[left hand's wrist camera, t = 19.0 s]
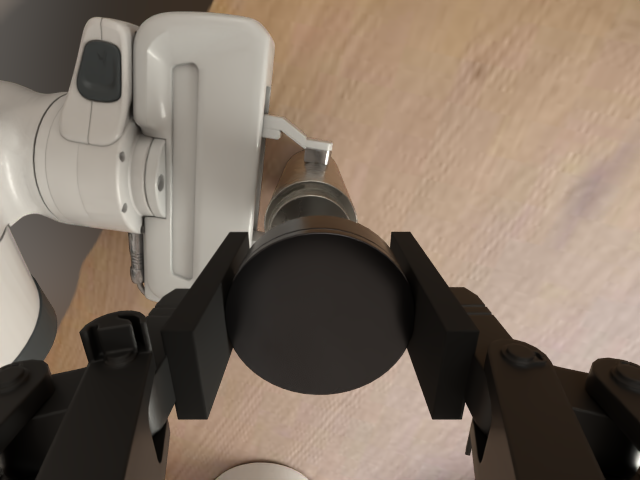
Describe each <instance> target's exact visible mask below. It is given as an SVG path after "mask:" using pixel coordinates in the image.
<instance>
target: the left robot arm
mask: <svg viewBox="0 0 640 480" xmlns="http://www.w3.org/2000/svg"><path fill="white" fill-rule="evenodd" d="M249 249H250V246H249V234H248V232H229V233H228V235H227V236H226V238H225V239H224V241H223V242H222V243H221V245H220V246H219V248H218V249H217V251H216V252H215V253H214V255H213V256H212V258H211V259H210V261H209V262H208V263H207V265H206V266H205V268H204V269H203V271H202V272H201V273H200V275H199V276H198V278H197V279H196V281H195V282H194V283H193V285H192V286H191V288H176V289H174V290H172V291H171V292H169V293H168V294H166V295H165V296H163V297H162V298H161V299H160V301H159V302H158V303H157V304H156V306H155V308H153V309H152V310H151V312H150V313H149V316H147V317H145V316H144V315H143V314H142V313H140V312H136V311H118V312H114V313H110V314H106V315H104V316H101V317H99V318H96V319H95V320H93V321H91V322H90V323H88V324H87V325H85V326H84V328H83V329H82V330H81V331H80V332H79V333H80V336H81V339H82V343H83V346H84V349H85V352H86V356H87V359H88V362H89V363H88V365H87V367H85V368H81V369H77V370H72V371H67V372H62V373H58V374H53V375H51V372H50V369H49V367H48V364H46V363H45V362H44V361H42V360H34V359H31V360H24V361H18V362H14V363H12V364H8V365H5V366H3V367H1V368H0V480H165V474H166V465H167V456H168V447H169V438H170V428H169V423H168V416H169V414H170V412H171V410H172V408H173V406H174V404H175V407H176V412H177V417H178V419H208V417H209V414H210V411H211V408H212V405H213V402H214V400H215V397H216V394H217V391H218V388H219V386H220V383H221V380H222V377H223V374H224V372H225V369H226V366H227V363H228V360H229V357H230V355H231V352H232V349H233V346H232V344H231V342H230V339H229V337H228V333H227V330H226V323H225V302H226V296H227V293H228V290H229V287H230V285H231V283H232V281H233V279H234V277H235V275H236V273H237V271H238V269H239V267H240V265H241V263H242V261H243V259H244V257H245V255H246V253H247V252H248V250H249ZM390 249H391V250H392V251H393V253H394V255H395V257H396V258H397V260H398V262H399V264H400V266H401V268H402V270H403V272H404V274H405V276H406V278H407V280H408V282H409V285H410V287H411V290H412V292H413V297H414V301H415V321H414V329H413V334H412V337H411V339H410V342H409V344H408V346H407V350H408V352H409V355H410V358H411V361H412V364H413V366H414V369H415V372H416V375H417V378H418V381H419V383H420V386H421V389H422V392H423V395H424V397H425V400H426V403H427V406H428V409H429V412H430V414H431V417H432V419H462V416H463V411H464V406H465V402H466V404H467V406H468V409H469V411H470V413H471V415H472V417H473V418H472V423H471V427H470V432H469V437H468V441H467V446H466V452H465V455H469V456H470V453H471V449H472V455H473V464H474V473H475V480H640V366H639V365H637V364H634V363H632V362H628V361H625V360H620V359H614V358H601V359H597V360H596V361H594V362H593V363H592V366H591V369H590V371H589V373H585V372H580V371H575V370H571V369H566V368H561V367H557V366H553V365H552V362H551V361H550V360H549V358H548V357H547V356H546V355H545V354H544V353H543V352H541V351H540V350H539V349H537V348H536V347H534V346H532V345H529V344H527V343H525V342H522V341H518V340H514V339H512V337H511V336H510V335H509V334H508V332H507V331H506V330H505V329H504V328H503V326H502V325H501V324H500V323H499V321H498V320H497V319H496V318H495V317H494V315H492V314H491V312H490V310H489V309H488V308H487V307H485V304H484V303H483V302H482V301H481V299H480V298H479V297H478V296H477V295H476V294H474V293H472V292H471V291H469V290H468V289H466V288H465V287H448V285H447V284H446V282H445V281H444V279H443V278H442V277H441V275H440V274H439V272H438V271H437V269H436V268H435V267H434V265H433V264H432V262H431V261H430V259H429V258H428V257H427V255H426V254H425V252H424V251H423V249H422V248H421V247H420V245H419V244H418V242H417V241H416V240H415V238H414V237H413V235H412V234H411V232H391V243H390Z"/></svg>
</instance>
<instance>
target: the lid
mask: <svg viewBox="0 0 640 480" xmlns="http://www.w3.org/2000/svg"><path fill="white" fill-rule="evenodd" d="M414 321H415V301H414V297H413V292H412V290H411V287H410V285H409V282H408V280H407V278H406V276H405V274H404V272H403V270H402V268H401V266H400V264H399V262H398V260H397V258H396V257H395V255H394V253H393V251H392V250H391V249H390V248H389V246H388V245H387V244H386V243H385V242H384V241H383V240H382V239H381V238H380V237H379V236H378V235H377V234H375V233H374V232H373V231H371V230H370V229H368V228H366V227H364V226H363V225H361V224H359V223H356V222H354V221H351V220H348V219H344V218H340V217H335V216H326V215H314V216H306V217H300V218H296V219H292V220H289V221H286V222H284V223H282V224H279V225H277V226H276V227H274V228H272V229H270V230H269V231H267V232H266V233H265V234H264V235H262V236H261V237H260V238H259V239H258V240H257V241H256V242H255V243H254V244H253V245H252V246H251V248H250V249H249V250H248V252H247V253H246V255H245V257H244V259H243V261H242V263H241V265H240V267H239V269H238V271H237V273H236V275H235V277H234V279H233V281H232V283H231V285H230V287H229V290H228V293H227V296H226V302H225V323H226V330H227V333H228V337H229V339H230V342H231V344H232V346H233V348H234V350H235V351H236V353H237V354H238V356H239V357H240V359H241V360H242V361H243V362H244V363H245V364H246V366H248V367H249V368H250V369H251V370H252V371H253V372H254V373H256V374H257V375H258V376H260V377H261V378H263V379H264V380H266V381H268V382H270V383H271V384H273V385H276V386H278V387H281V388H283V389H286V390H290V391H293V392H298V393H303V394H313V395H328V394H337V393H342V392H347V391H351V390H354V389H357V388H360V387H362V386H364V385H366V384H369V383H371V382H372V381H374V380H376V379H377V378H379V377H380V376H382V375H383V374H384V373H386V372H387V371H388V370H389V369H390V368H391V367H392V366H393V365H394V364H395V363H396V362H397V361H398V360H399V359H400V357H401V356H402V355H403V353H404V351H405V350H406V348H407V346H408V344H409V342H410V339H411V337H412V334H413V329H414Z"/></svg>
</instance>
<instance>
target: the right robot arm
mask: <svg viewBox="0 0 640 480" xmlns="http://www.w3.org/2000/svg"><path fill="white" fill-rule="evenodd" d="M274 53H275V43H274V41H273V39H272V37H271V35H270V34H269V32H268V31H267V30H266V28H265V27H264V26H263V25H262V24H261V23H260V22H259V21H257V20H255V19H252V18H249V17H243V16H237V15H230V14H221V13H209V12H166V13H160V14H157V15H154V16H152V17H150V18H148V19H147V20H146V21H144V22H143V23H142V24H141V26H140V27H139V26H136V25H134V24H131V23H128V22H124V21H121V20H116V19H111V18H103V17H94V18H91V19H90V20H89V21H88V22H87V23H86V25H85V28H84V31H83V35H82V39H81V43H80V48H79V52H78V57H77V61H76V65H75V69H74V73H73V77H72V80H71V84H70V88H69V91H68V92H58V93H51V94H44V93H39V92H36V91H34V90H31V89H29V88H27V87H25V86H22V85H19V84H17V83H13V82H9V81H3V80H0V368H1V367H3V366H5V365H8V364H12V363H14V362H18V361H24V360H31V359H34V360H42V361H43V360H44V359H45V357H46V356H47V354H48V353H49V351H50V349H51V347H52V345H53V342H54V340H55V336H56V332H57V317H56V313H55V311H54V309H53V307H52V305H51V304H50V302H49V301H48V299H47V297H46V296H45V294H44V293H43V291H42V290H41V288H40V286H39V285H38V283H37V281H36V280H35V278H34V277H33V276H32V275H31V274H30V272H29V270H28V267H27V265H26V263H25V261H24V259H23V256H22V254H21V252H20V250H19V248H18V246H17V243H16V241H15V239H14V237H13V235H12V233H11V230H10V228H9V226H12V225H13V224H14V223H16V222H17V221H18V220H19V219H20V218H22V217H23V216H26V215H29V214H40V215H43V216H45V217H48V218H50V219H52V220H55V221H58V222H61V223H65V224H71V225H78V226H86V227H93V228H100V229H108V230H115V231H123V232H128V236H129V250H130V255H131V267H130V275H131V280H132V282H133V283H135V284H137V286H138V288H139V290H140V291H141V292H142V293H143V294H144V295H145V297H146V298H147V299H149V300H152V301H156V302H159V301H160V299H161V298H162V297H163V296H165V295H166V294H168V293H169V292H171V291H172V290H174V289H176V288H191V286H192V285H193V283H194V282H195V281H196V279H197V278H198V276H199V275H200V273H201V272H202V271H203V269H204V268H205V266H206V265H207V263H208V262H209V261H210V259H211V258H212V256H213V255H214V253H215V252H216V251H217V249H218V248H219V246H220V245H221V243H222V242H223V241H224V239H225V238H226V236H227V235H228V233H229V232H248V234H249V246H250V248H251V246H252V245H253V244H254V243H255V242H256V241H257V240H258V239H259V238H260V237H261V236H262V235H264V234H265V232H260V231H257V226H258V216H259V206H260V196H261V185H262V175H263V165H264V155H265V145H266V138H270V139H277V140H278V139H279V138H280V137H281V136H282V134H283V133H285V134H286V135H287V136H288V137H290V138H291V139H292V140H294V141H295V142H296V143H297V144H299V145H300V146H301V147H302V148H304V149H305V155H304V162H310V163H314V162H316V161H317V162H318V163H319V164H322V165H329V162H330V157H331V151H332V145H333V143H332V142H331V141H328V140H322V139H316V138H310V137H307V135H306V134H305V133H304V132H303V131H301V130H300V129H299V128H298V127H296V126H295V125H294V124H293V123H292V122H290V121H289V120H288V119H287V118H286V117H283V116H277V115H271V114H269V104H270V94H271V83H272V73H273V63H274ZM8 225H9V226H8ZM143 283H145V287H144V285H143ZM215 480H308V479H307V478H306V477H305V476H304V475H303V474H301V473H300V472H298V471H296V470H294V469H292V468H289V467H286V466H283V465H279V464H274V463H248V464H243V465H240V466H236V467H234V468H231V469H229V470H227V471H226V472H224V473H222V474H221V475H220V476H219V477H217V478H216V479H215Z"/></svg>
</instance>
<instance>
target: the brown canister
mask: <svg viewBox="0 0 640 480" xmlns="http://www.w3.org/2000/svg"><path fill="white" fill-rule="evenodd" d="M304 155H305V150H302V151H300V152H298V153H296V154H295V155H293V156H292V157H291V158H290V159H289V161H288V162H287V164H286V166H285V168H284V171H283V173H282V175H281V178H280V180H279V182H278V185H277V187H276V189H275V192H274V194H273V196H272V199H271V201H270V203H269V206H268V208H267V210H266V214H265V220H264V229H265V233H266V232H267V231H269V230H270V229H272V228H274V227H276V226H277V225H279V224H282V223H284V222H286V221H289V220H292V219H296V218H300V217H306V216H314V215H326V216H335V217H340V218H344V219H348V220H351V221H354V222H356V223H357V215H356V212H355V209H354V206H353V204H352V201H351V199H350V196H349V194H348V191H347V189H346V186H345V184H344V182H343V179H342V177H341V174H340V172H339V169H338V167H337V165H336V163H335V161H334V160H333V159H332V158H331V157H330V162H329V165H322V164H319V163H318V162H317V161H316V162H314V163H310V162H304Z"/></svg>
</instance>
